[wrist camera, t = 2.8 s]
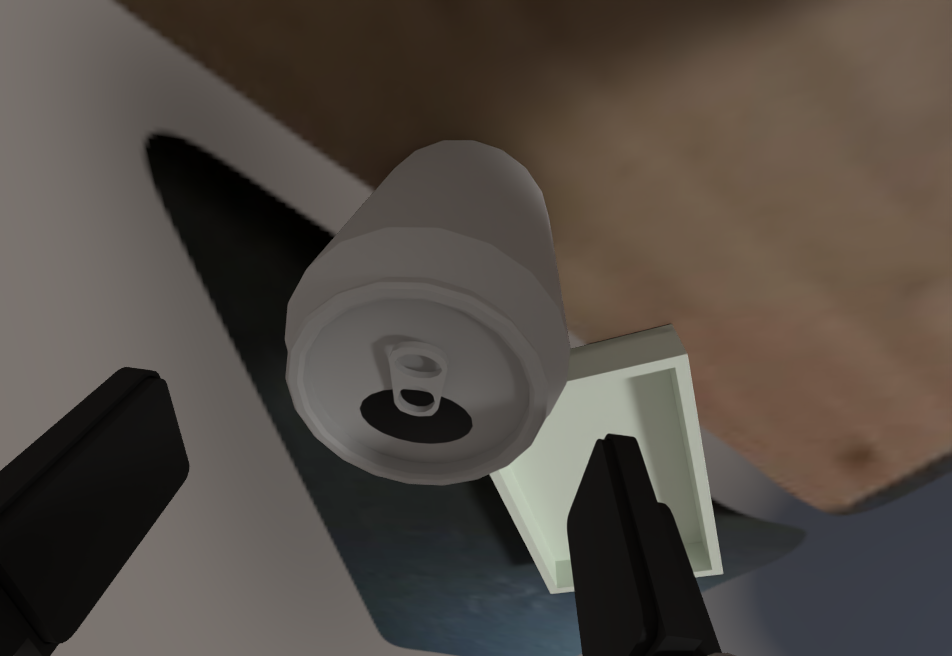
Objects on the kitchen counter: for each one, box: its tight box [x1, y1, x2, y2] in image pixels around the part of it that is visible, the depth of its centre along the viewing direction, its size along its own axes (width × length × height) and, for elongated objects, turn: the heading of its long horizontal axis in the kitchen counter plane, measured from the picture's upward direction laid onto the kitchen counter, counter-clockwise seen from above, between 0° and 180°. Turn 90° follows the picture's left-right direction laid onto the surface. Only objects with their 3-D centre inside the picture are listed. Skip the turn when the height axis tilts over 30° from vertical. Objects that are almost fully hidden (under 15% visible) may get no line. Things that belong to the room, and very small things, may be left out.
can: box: [285, 140, 570, 485], centre depth 16 cm, size 8×8×12 cm
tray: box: [490, 324, 723, 594], centre depth 28 cm, size 18×11×2 cm, turn 20°
